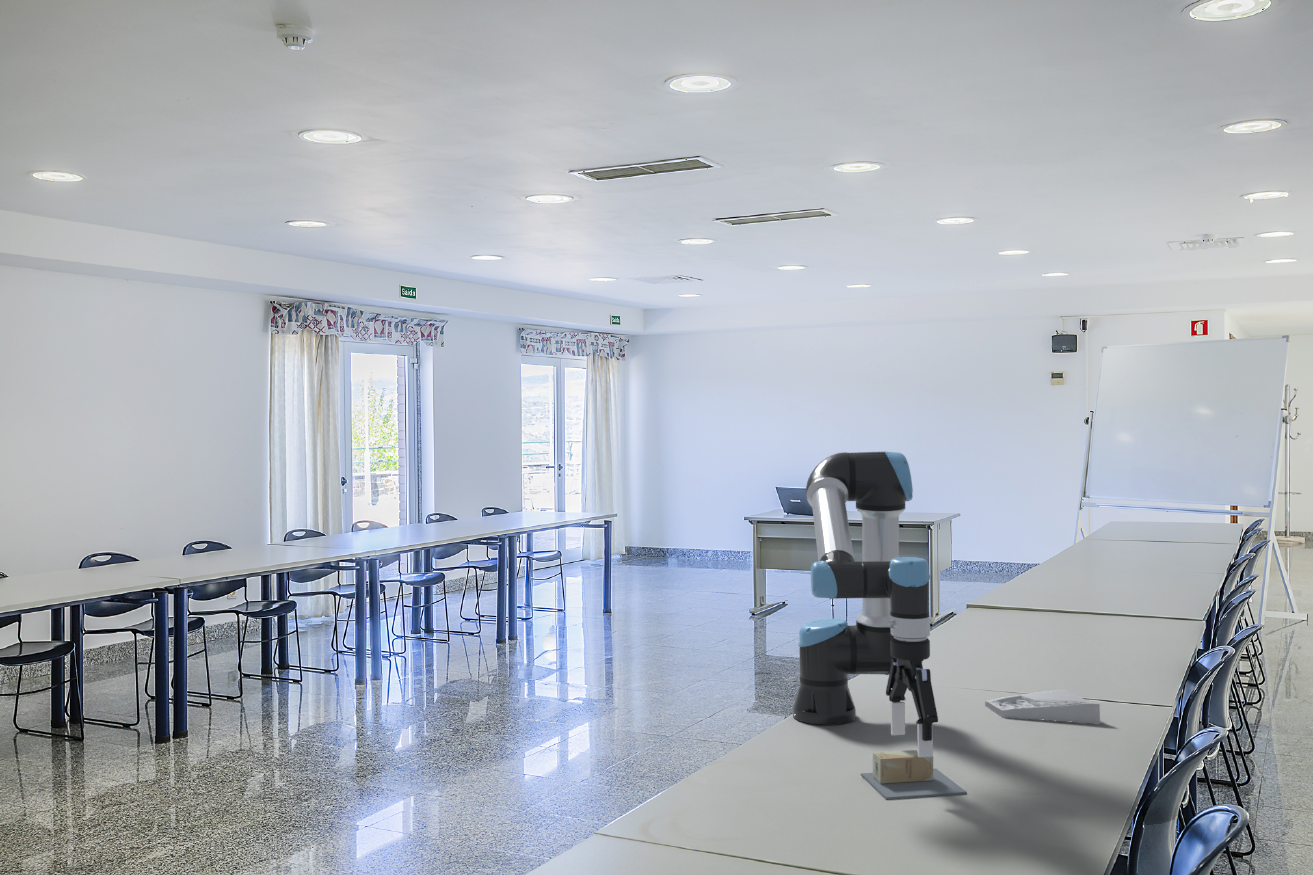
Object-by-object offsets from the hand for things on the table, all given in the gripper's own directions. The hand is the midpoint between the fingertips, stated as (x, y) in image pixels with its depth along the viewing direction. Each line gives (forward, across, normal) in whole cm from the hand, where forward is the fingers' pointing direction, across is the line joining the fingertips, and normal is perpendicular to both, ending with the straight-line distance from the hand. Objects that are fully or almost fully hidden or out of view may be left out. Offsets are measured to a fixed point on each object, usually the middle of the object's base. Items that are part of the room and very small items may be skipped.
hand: (911, 745), depth 200 cm
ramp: (+9, -41, +50) cm, 65 cm away
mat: (+7, +1, 0) cm, 8 cm away
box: (+5, -2, -7) cm, 9 cm away
